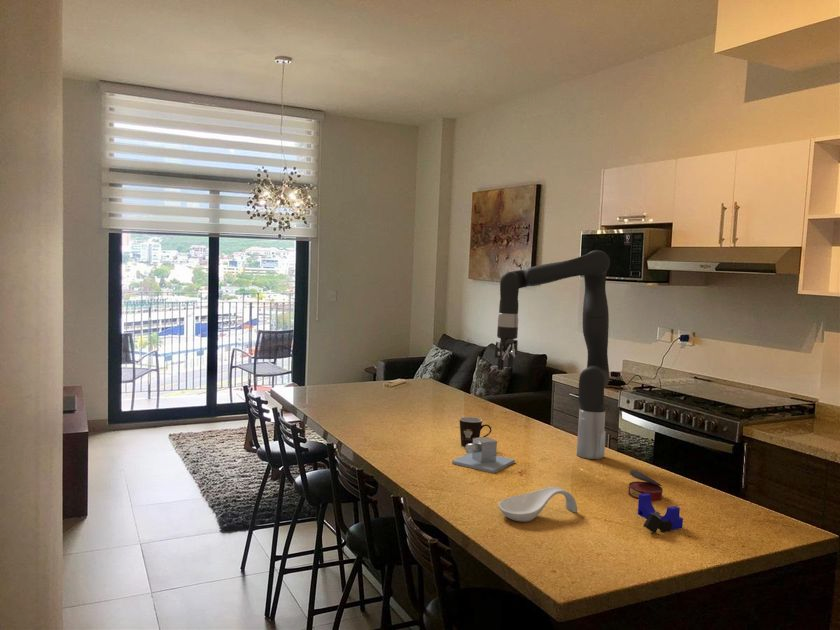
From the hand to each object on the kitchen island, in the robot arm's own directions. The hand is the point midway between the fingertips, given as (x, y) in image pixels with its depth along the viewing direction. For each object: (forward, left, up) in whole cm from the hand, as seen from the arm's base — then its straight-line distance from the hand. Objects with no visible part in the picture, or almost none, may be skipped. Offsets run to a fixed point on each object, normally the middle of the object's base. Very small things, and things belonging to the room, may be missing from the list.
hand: (505, 368), depth 249 cm
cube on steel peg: (-3, +24, -29) cm, 38 cm away
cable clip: (-67, +38, -30) cm, 83 cm away
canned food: (-58, +19, -30) cm, 68 cm away
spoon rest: (-38, +55, -31) cm, 74 cm away
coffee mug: (+9, +6, -30) cm, 32 cm away
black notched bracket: (-68, +46, -30) cm, 88 cm away
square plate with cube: (-4, +22, -30) cm, 37 cm away
